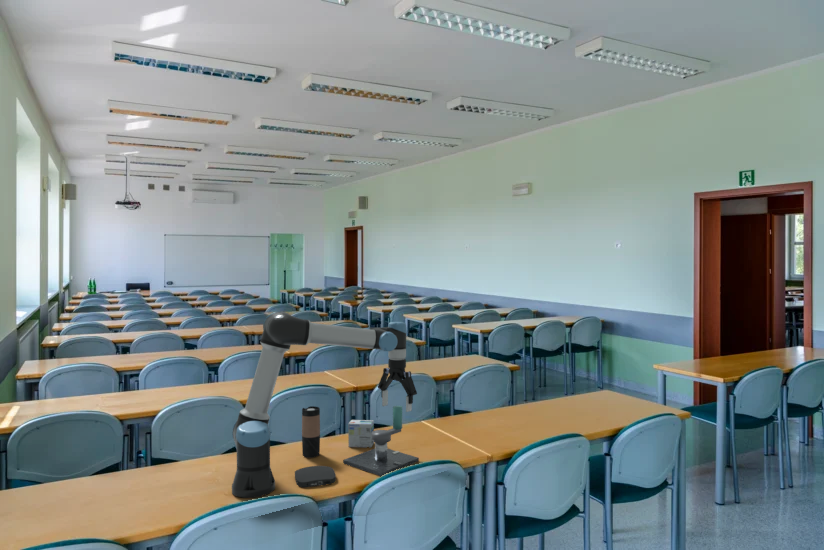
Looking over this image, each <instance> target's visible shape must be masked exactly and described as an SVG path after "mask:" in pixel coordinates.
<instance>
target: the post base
mask: <svg viewBox="0 0 824 550" xmlns="http://www.w3.org/2000/svg"><path fill="white" fill-rule="evenodd" d="M419 462H420V459H419V457H418V456H414V455H410V454H408V453H405V452H404V453H403V452H401V451H399V450H393V449H390V448H388V442H386V443H375V442H374V448H372V449H370V450H367V451H364V452H361V453H357V454H356V455H353V456H350V457H346V458H344V459H342V464H343V463H344V464H343V465H346V464H347V466H349V465H350V467H353V468H355V469H357V470H361V471H364V472H367V473H369V474H372V475H376V476H378V477H381V476H382V475H384V474H386V473H389V472H391V471H394V470H396V469H399V468H402V467H404V468H406V467H405V466H407V467H408V465H409V466H411V465H414V464H416V463H419ZM402 469H403V468H402ZM399 470H400V469H399Z"/></svg>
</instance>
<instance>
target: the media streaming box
mask: <svg viewBox="0 0 824 550" xmlns="http://www.w3.org/2000/svg"><path fill="white" fill-rule="evenodd" d="M336 477H337V476H336V472H335V469H334V468H333V467H332V466H328V465H327V466H326V465H312V466H306V467H301V468H299V469H296V470H295V471H294V480H295V483H296V486H297V485H298V486H297V487H300V488H312V487H322V486H321V485H323V486H327V485H326V484H330V485H332V484H331V483H333V484H335V483H336V482H335V481H337V478H336ZM334 482H335V483H334Z"/></svg>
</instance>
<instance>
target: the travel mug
mask: <svg viewBox="0 0 824 550" xmlns="http://www.w3.org/2000/svg"><path fill="white" fill-rule="evenodd" d="M320 410H321V409H320V407H319V406H314V405H313V406H310V405H309V406H308V407H302V409H301V441H302V442H301V445H302V448H301V449H302V457H303V456H304V458H306V459H311V458H316V457H317V458H318V457H319V456H320V454H321V453H320V450H321V449H320V448H321V446H320V445H321V411H320Z"/></svg>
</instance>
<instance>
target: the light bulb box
mask: <svg viewBox="0 0 824 550" xmlns="http://www.w3.org/2000/svg"><path fill="white" fill-rule="evenodd" d="M374 424H375V423H374V420H373V419H366V420H365V419H351V420H350V421H349V422H348V424H347V425H348V430H347V433H348V437H347V438H348V448H367V447H369V449H370V448H372V447H373V445H375V442H372V441H371V432H373V431H375V427H374V426H375V425H374Z"/></svg>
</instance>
